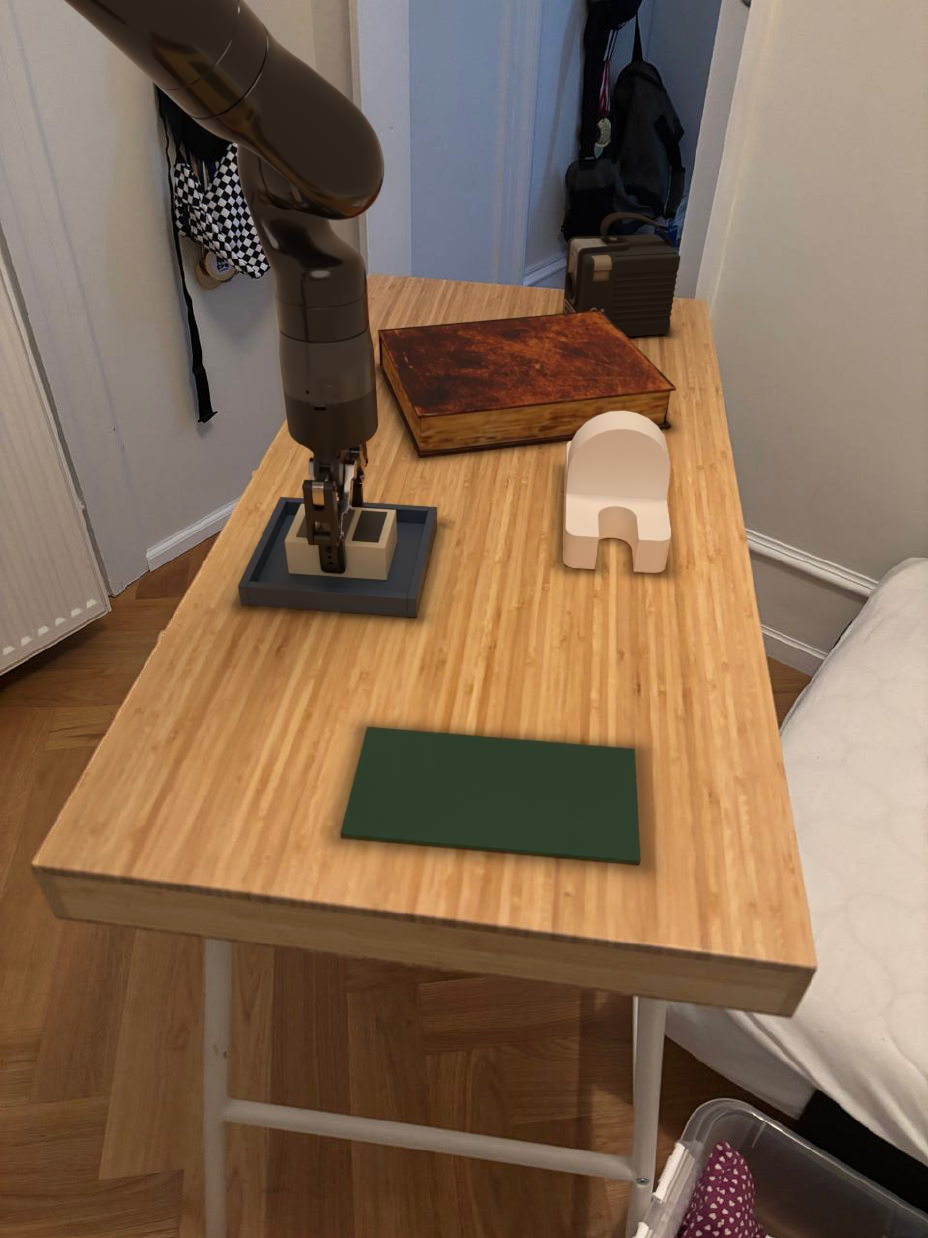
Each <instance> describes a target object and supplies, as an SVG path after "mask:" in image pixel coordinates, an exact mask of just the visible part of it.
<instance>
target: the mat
mask: <svg viewBox="0 0 928 1238" xmlns="http://www.w3.org/2000/svg"><path fill="white" fill-rule="evenodd" d="M636 766H637V765H636V750H635V748H630V747H629V748H628V747H619V746H618V747H616V746H606V745H593V744H583V743H581V744H580V743H569V742H559V741H558V742H555V741H546V740H544V741H543V740H534V739H533V740H532V739H521V738H508V737H507V738H506V737H495V736H486V735H485V736H484V735H483V736H482V735H473V734H459V733H450V732H449V733H447V732H436V731H423V730H414V729H413V730H411V729H399V728H386V727H375V726H374V727H373V726H367V727H366V731H365V734H364V738H363V743H362V746H361V751H360V754H359V758H358V762H357V765H356V770H355V774H354V778H353V781H352V786H351V790H350V794H349V797H348V802H347V806H346V809H345V810H346V811H345V813H344V818H343V822H342V826H341V830H340V832H339V833H340V838H346V839H347V838H349V839H357V840H358V839H359V840H369V841H379V842H380V841H381V842H390V843H403V844H413V845H422V846H423V845H425V846H435V847H445V848H446V847H447V848H458V849H469V850H478V851H479V850H480V851H489V852H490V851H491V852H499V853H511V854H523V855H533V856H544V857H557V858H566V859H567V858H568V859H577V860H588V861H600V862H611V863H622V864H633V865H640V864H641V846H640V845H641V844H640V843H641V842H640V826H639V825H640V824H639V823H640V821H639V808H638V807H639V804H638V787H637V786H638V785H637V768H636Z"/></svg>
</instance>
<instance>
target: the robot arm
mask: <svg viewBox="0 0 928 1238" xmlns="http://www.w3.org/2000/svg"><path fill="white" fill-rule="evenodd" d="M63 1H64V2H65V3H66V4H67V5H69V6H70V7H71V8H72V9H73V10H74V11H76V12H77V13H78V14H79V15H80V16H81V17H82V18H84V19H85V20H86V21H87V22H88V23H89V24H91V25H92V27H94V28H95V29H96V30H97V31H98V32H99V33H100V34H101V35H103V37H104V38H105V39H107V40H108V42H110V43H111V44H112V45H113V46H114V47H116V48H117V49H118V50H119V51H120V52H121V53H122V54H123V55H124V56H125V57H126V58H127V59H128V60H130V61H131V62H132V63H133V64H134V66H135V67H137V68H138V69H139V70H140V71H141V72H142V73H143V74H144V75H146V77H148V78H149V79H150V80H151V81H152V82H153V83H154V84H155V85H156V86H157V87H158V88H159V89H160V90H161V91H162V92H163V93H164V94H165V95H167V96H168V97H169V98H170V99H171V100H172V101H173V102H174V103H175V104H176V105H177V106H178V107H179V108H180V109H182V110H183V111H184V113H186V114H187V115H188V116H189V117H190V118H192V119H193V121H194V122H196V123H197V124H198V125H199V126H201V127H202V128H203V129H205V130H207V131H208V132H210V133H211V134H213V135H215V136H216V137H218V138H220V139H223V140H225V141H228V142H231V143H233V144H236V146H237V147H236V163H237V164H236V165H237V172H238V173H237V174H238V177H239V183H240V187H241V191H242V194H243V197H244V200H245V203H246V206H247V208H248V211H249V214H250V217H251V220H252V223H253V226H254V228H255V232H256V234H257V238H258V241H259V243H260V245H261V248H262V251H263V253H264V255H265V258H266V260H267V263H268V264H269V268H270V270H271V273H272V277H273V286H274V297H275V305H276V314H277V322H278V331H279V344H278V345H279V346H278V349H279V350H278V351H279V352H278V355H279V356H278V357H279V365H280V373H281V382H282V389H283V390H282V391H283V398H284V406H285V414H286V423H287V431H288V433H289V435H290V438H291V439H292V440H293V441H295V442H296V443H297V444H299V445H300V446H303V447H304V448H306V449H307V450H309V451H310V452H312V455H313V456H309V459H308V469H307V470H308V471H307V473H308V476H309V478H310V479H304V480H303V483H302V485H301V490H302V495H303V496H302V498H304V507H305V518H306V528H307V541H308V544H309V545H318V549H319V558H320V567H321V570H322V571H323V572H324V573H332V574H343V573H344V572H345V570H346V567H347V562H346V551H345V539H344V537H345V531H344V529H345V516H346V514H348V513H349V512H350V511H351V509H352V507H359V508H364V502H365V501H364V488H363V487H364V486H363V484H364V482H365V480H366V473H365V471H366V470H365V469H366V468H367V467H368V464H369V458H368V446H367V442H368V441H370V440H372V439H373V437H375V434H376V433H377V430H378V428H379V414H378V413H379V411H378V397H377V396H378V395H377V392H378V391H377V375H376V357H375V347H374V342H373V337H372V331H371V323H370V309H369V308H370V307H369V290H368V288H369V287H368V274H367V273H368V272H367V267H366V263H365V259H364V257H363V256H362V254H361V253H360V252H359V250H358V249H356V247H354V246H353V245H351V244H350V243H349V242H347V241H345V240H344V239H343V238H342V237H341V236H339V235H338V233H336V232H335V230H334V229H333V227H332V225H331V224H330V221H347V220H351V219H355V218H357V217H359V216H361V215H362V214H364V213H365V212H367V211H368V210H369V209H370V208H371V207H372V206H373V205H374V203H375V202H376V201H377V199H378V197H379V195H380V193H381V191H382V187H383V183H384V177H385V159H384V153H383V149H382V146H381V144H380V140H379V137H378V135H377V132H376V131H375V129H374V127H373V125H372V124H371V123H370V121H369V119H368V118H367V116H366V115H365V114H364V113H363V111H361V109H360V108H359V107H358V106H357V105H356V104H355V103H354V102H353V101H352V100H351V99H349V97H348V96H346V95H345V94H344V93H343V92H342V91H340V90H339V89H338V88H337V87H336V86H335V85H333V84H332V83H331V82H330V81H328V79H326V78H324V76H322V75H321V74H320V73H319V72H317V71H316V70H315V69H314V68H312V67H311V66H310V65H309V64H308V63H306V62H305V61H303V60H302V59H301V58H299V57H298V56H296V55H295V54H293V52H291V51H290V50H288V49H287V48H286V47H284V46H283V45H282V44H281V43H280V42H278V40H277V39H276V38H275V37H274V35H272V33H271V31H270V30H269V29H268V28H267V26H266V25H265V24H264V23H263V22H262V20H261V19H260V18H259V16H258V15H257V14H256V12H255V11H253V9H251V7H250V6H249V5H248V3H247V2H246V1H245V0H63ZM337 499H338V501H339V503H337ZM322 523H328V524H329V526H325V525H322Z"/></svg>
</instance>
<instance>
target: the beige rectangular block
mask: <svg viewBox="0 0 928 1238" xmlns="http://www.w3.org/2000/svg"><path fill="white" fill-rule="evenodd" d="M322 525H325V526H329V524H328V523H322ZM344 531H345V537H344V539H345V551H346V562H347V567H346V570H345V572H344V573H343V574H332V573H324V572H323V571H322V570H321V567H320V558H319V549H318V545H309V544H308V541H307V528H306V518H305V507H304V504H301V505H300V507H299V509H298V512H297V514H296V516H295V519H294V521H293V523H292V525H291V528H290V530H289V532H288V535H287V537H286V539H285V548H286V555H287V563H288V570H289V573H292V574H306V575H320V576H334V577H348V578H362V579H376V580H387V577H388V573H389V570H390V566H391V562H392V559H393V555H394V551H395V548H396V544H397V522H396V510H389V509H374V508H359V507H352V509H351V511H350V512H349V513H348V514H346V516H345V529H344Z"/></svg>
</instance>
